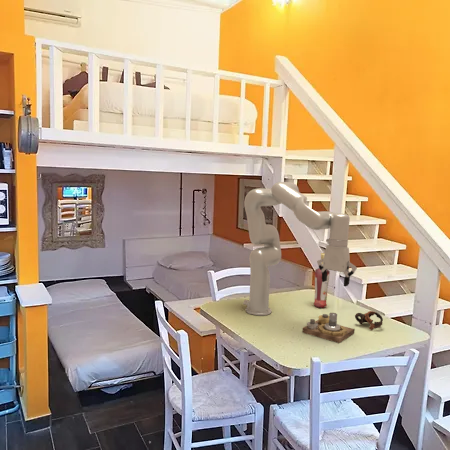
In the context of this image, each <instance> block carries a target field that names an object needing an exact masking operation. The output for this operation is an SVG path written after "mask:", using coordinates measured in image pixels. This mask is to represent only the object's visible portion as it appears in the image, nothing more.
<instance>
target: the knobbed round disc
mask: <svg viewBox="0 0 450 450" xmlns="http://www.w3.org/2000/svg"><path fill="white" fill-rule="evenodd" d="M328 316H329V323H326V324H325V330H328V331H332V332H340V324H338V313H336V312H330V313H329V314H328Z"/></svg>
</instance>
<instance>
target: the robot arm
mask: <svg viewBox="0 0 450 450" xmlns="http://www.w3.org/2000/svg"><path fill="white" fill-rule="evenodd" d="M299 189H300V188H299V187H298V185H297V184H296V183H295V182H292V181H278V182H276V183H274V184H273V185H272V186H271V187H270V188H265V187H264V188H263V187H262V188H259V187H258V188H255V189H254V188H253V189H251V190H250V191H248V193H247V194H246V196H245V198H244V203H243V205H244V210H245V214H246V220H247V228H248V234H249V235H248V236H249V239H250V240H249V241H250V242H251V244H253V245H255V246H260V245H263V246H262V247H257V248H254V249H253V250H251V252H250V254H249V257H248V258H249V259H248V260H249V261H248V262H249V267H250V274H249V275H250V279H249V297H248V299H249V300H248V299H244V300H243V302H242V304H243V305H245V306H246V307H245V312H246V313H247V314H249V315H254V316H267V315H271V313H272V309H271V308H270V307H269V305H270V304H269V303H270V302H269V301H270V287H271V285H270V284H271V275H270V274H271V273H270V270H269V267H271V266H276V265H278V264H279V263H280V262H281V260H282V248H281V242H280V241H281V240H280V235H279V231H278V229H277V228H276V227H275V226H274V225H273V224H269V223H268V224H267V223H266V218H265V217H266V216H265V214H264V212H263V210H262V207H273V206H278V205H284V206H285V207H287V208H288V209H289V210H291V211H292V212H293V214H294V216H295V218H296V219H297V220H298V221H299V222H300V223H302V224H303V225H304V226H306V227H307V228H309V229H311V230H315V231H318V230H319V231H320V230H327V229H328V230H329V238H326V240H325V242H326V243H328V245H326V248H325V250H324V253H325V254H324V259H321V258H320V259H318V260H316V263H317V265H318V268H320V270H321V272H322V282H325V281H327V272H326V271H327V270H329V271H334V272H340V273H343V275H344V277H343V286H344V287H348V286H349V285H350V278H351V277H352V276H353V275H354V274H355V273H356V271H357V268H358V267H357V266H356V265H355V264H353V263H352V262H351V261H350V258H351V257H350V248H349V247H348V244H349V231H350V230H349V229H350V222H351V221H350V215H349V214H346V213H337V212H332V211H327V210H326V211H324V210H323V211H322V210H321V211H316V210H314V209H312V208H311V207H310V206H308V205H307V204H306V203H307V197H306V195H304V194H303V193H301V192H300V190H299ZM322 262H323V265H322ZM350 269H351V270H350Z"/></svg>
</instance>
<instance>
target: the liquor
mask: <svg viewBox="0 0 450 450" xmlns="http://www.w3.org/2000/svg"><path fill="white" fill-rule="evenodd" d="M324 254H325V252H321V253H320V260H321V259H324ZM322 265H323V262H322ZM326 272H327V281H325V282H322V272H321V270H320V268H319V267H318V268H317V269H315V270H314V302H313V305H314V306H315V308H318V309H324V308H326V307H327V306H328V304H327V298H328V291H329V281H330V274H331V273H330V272H331V270H327V271H326Z"/></svg>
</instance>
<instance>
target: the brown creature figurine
mask: <svg viewBox="0 0 450 450" xmlns="http://www.w3.org/2000/svg"><path fill="white" fill-rule="evenodd" d="M374 315H375V316H376V317H377V318H378V319H380V321H374V320H373V319H371V317H372V316H374ZM354 317H355V320H356V321H357V322H358V323H359V325H363V324H365V323H366V324H367V323H368V324H369V327H368V329H369V330H370V331H373V330H374V329H379V328H381V327H382V326H383V324H384V323H383V320H384V318H383V317H382V315H381V314H380V313H379V312H377V311H374V310H369V311H368V312H365V313H361V312H357V313H355V315H354Z"/></svg>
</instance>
